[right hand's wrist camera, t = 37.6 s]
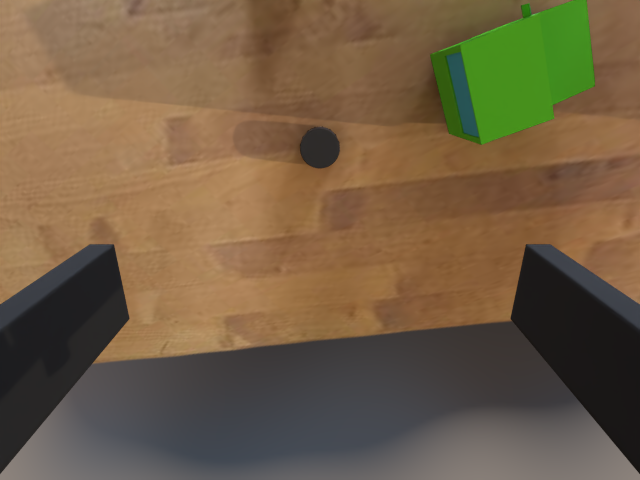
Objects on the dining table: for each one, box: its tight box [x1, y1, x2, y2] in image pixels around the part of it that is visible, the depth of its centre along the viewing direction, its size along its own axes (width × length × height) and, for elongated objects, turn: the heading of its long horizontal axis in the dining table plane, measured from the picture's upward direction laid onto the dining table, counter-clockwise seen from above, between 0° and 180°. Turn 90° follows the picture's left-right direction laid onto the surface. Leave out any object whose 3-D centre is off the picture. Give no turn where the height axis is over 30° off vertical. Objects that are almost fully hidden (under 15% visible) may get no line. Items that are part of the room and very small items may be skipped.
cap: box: [300, 126, 340, 168], centre depth 42 cm, size 4×4×2 cm
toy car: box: [430, 0, 595, 145], centre depth 35 cm, size 10×13×10 cm
